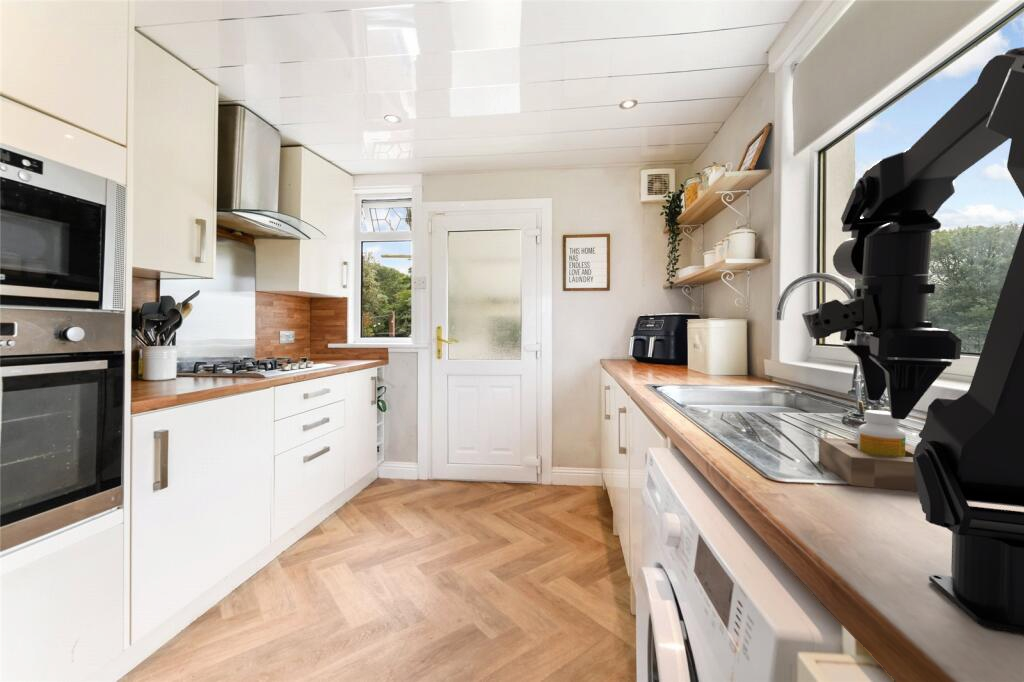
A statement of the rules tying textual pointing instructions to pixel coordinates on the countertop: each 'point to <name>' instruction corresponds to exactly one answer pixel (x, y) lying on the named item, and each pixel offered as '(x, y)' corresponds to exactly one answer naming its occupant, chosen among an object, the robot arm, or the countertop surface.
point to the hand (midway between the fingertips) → (884, 408)
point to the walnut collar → (868, 465)
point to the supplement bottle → (881, 434)
